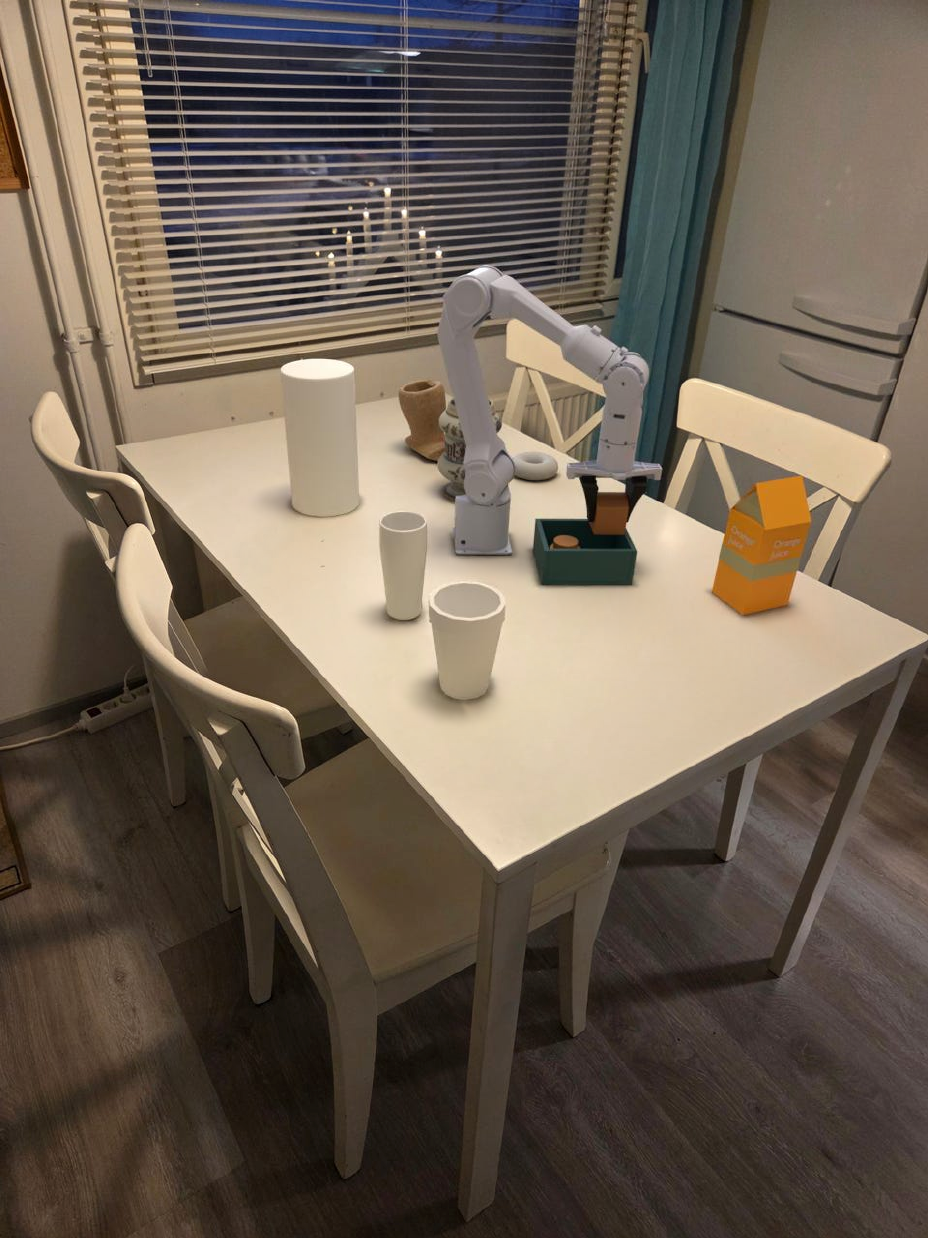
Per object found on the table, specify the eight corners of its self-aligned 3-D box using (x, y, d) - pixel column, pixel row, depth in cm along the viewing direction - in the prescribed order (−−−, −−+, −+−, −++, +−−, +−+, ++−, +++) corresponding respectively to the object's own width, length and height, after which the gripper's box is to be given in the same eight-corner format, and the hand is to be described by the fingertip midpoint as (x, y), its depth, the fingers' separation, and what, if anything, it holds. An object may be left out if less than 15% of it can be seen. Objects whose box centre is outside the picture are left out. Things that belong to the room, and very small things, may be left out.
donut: (505, 480, 166) (554, 485, 165) (506, 464, 165) (556, 468, 163) (512, 462, 175) (560, 466, 173) (513, 447, 173) (561, 451, 171)
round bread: (550, 573, 133) (552, 547, 131) (546, 558, 137) (548, 533, 135) (581, 573, 133) (584, 547, 131) (575, 558, 138) (578, 533, 135)
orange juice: (710, 591, 131) (737, 473, 120) (755, 581, 134) (784, 465, 123) (743, 616, 125) (774, 493, 114) (788, 605, 128) (822, 485, 117)
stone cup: (390, 444, 181) (389, 376, 173) (439, 437, 186) (440, 370, 178) (419, 469, 170) (419, 397, 162) (470, 460, 174) (473, 390, 166)
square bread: (593, 534, 131) (598, 499, 128) (588, 520, 135) (592, 486, 132) (624, 534, 131) (630, 500, 128) (618, 521, 135) (623, 487, 132)
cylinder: (279, 508, 152) (265, 372, 138) (314, 484, 161) (305, 354, 148) (338, 521, 148) (331, 382, 134) (371, 496, 158) (366, 364, 144)
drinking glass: (392, 628, 119) (390, 535, 111) (374, 606, 124) (371, 515, 116) (434, 618, 122) (435, 526, 113) (415, 596, 127) (415, 507, 118)
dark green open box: (541, 584, 131) (544, 550, 128) (532, 550, 141) (535, 518, 137) (632, 584, 132) (637, 551, 128) (617, 551, 142) (621, 518, 138)
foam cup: (426, 664, 112) (427, 581, 105) (494, 663, 112) (499, 580, 105) (430, 708, 104) (431, 621, 97) (503, 706, 104) (509, 620, 97)
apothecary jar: (486, 477, 167) (491, 389, 157) (508, 501, 157) (513, 409, 148) (429, 483, 164) (430, 393, 154) (447, 508, 154) (449, 414, 144)
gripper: (575, 447, 121) (566, 530, 129) (672, 448, 122) (658, 531, 129) (568, 430, 127) (559, 511, 134) (660, 431, 128) (647, 511, 135)
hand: (607, 519), depth 132 cm, fingers closed on square bread, 5 cm apart
